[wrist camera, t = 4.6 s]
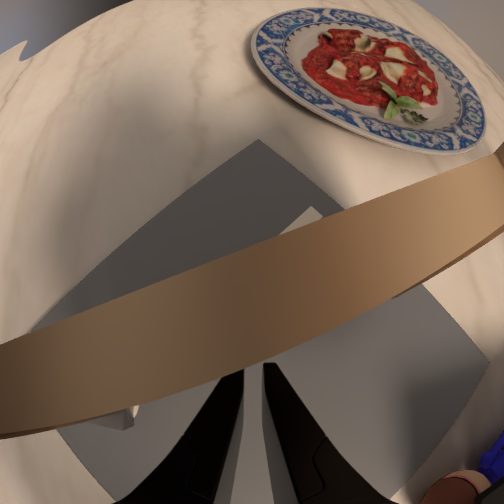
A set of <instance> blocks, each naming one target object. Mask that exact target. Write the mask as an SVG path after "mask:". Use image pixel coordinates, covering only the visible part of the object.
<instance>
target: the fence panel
mask: <svg viewBox="0 0 504 504" xmlns="http://www.w3.org/2000/svg"><path fill="white" fill-rule="evenodd" d="M502 232H504V142H503V143H502V144H501V146H500V147H499V148H498V149H497V150H496V151H495V153H494V154H493V155H490V156H487V157H485V158H482V159H479V160H477V161H474V162H471V163H469V164H466V165H463V166H460V167H458V168H455V169H452V170H450V171H447V172H444V173H442V174H439V175H436V176H434V177H431V178H428V179H426V180H423V181H420V182H418V183H415V184H412V185H410V186H407V187H404V188H402V189H399V190H396V191H394V192H391V193H388V194H386V195H383V196H381V197H378V198H375V199H373V200H370V201H367V202H365V203H362V204H359V205H357V206H354V207H351V208H349V209H346V210H344V211H341V212H338V213H336V214H333V215H330V216H328V217H325V218H323V219H320V220H317V221H315V222H312V223H310V224H307V225H304V226H302V227H299V228H296V229H294V230H291V231H289V232H286V233H283V234H281V235H278V236H276V237H273V238H270V239H268V240H265V241H263V242H260V243H257V244H255V245H252V246H250V247H247V248H245V249H242V250H239V251H237V252H234V253H232V254H229V255H226V256H224V257H221V258H219V259H216V260H214V261H211V262H208V263H206V264H203V265H201V266H198V267H196V268H193V269H190V270H188V271H185V272H183V273H180V274H178V275H175V276H172V277H170V278H167V279H165V280H162V281H160V282H157V283H155V284H152V285H149V286H147V287H144V288H142V289H139V290H137V291H134V292H132V293H129V294H127V295H124V296H121V297H119V298H116V299H114V300H111V301H109V302H106V303H104V304H101V305H99V306H96V307H94V308H91V309H89V310H86V311H84V312H81V313H78V314H76V315H73V316H71V317H68V318H66V319H63V320H61V321H58V322H56V323H53V324H51V325H48V326H46V327H43V328H41V329H38V330H36V331H33V332H31V333H28V334H26V335H23V336H21V337H18V338H16V339H13V340H11V341H8V342H6V343H4V344H1V345H0V440H1V439H7V438H13V437H19V436H24V435H30V434H35V433H40V432H45V431H49V430H54V429H58V428H62V427H67V426H71V425H75V424H79V423H83V422H86V421H90V420H94V419H97V418H101V417H104V416H106V415H107V414H108V413H112V412H115V411H119V410H123V409H126V408H130V407H134V406H137V405H141V404H144V403H147V402H151V401H154V400H157V399H160V398H164V397H167V396H170V395H173V394H176V393H179V392H182V391H185V390H188V389H191V388H194V387H197V386H199V385H202V384H205V383H208V382H211V381H213V380H216V379H219V378H221V377H224V376H227V375H229V374H232V373H234V372H237V371H239V370H242V369H244V368H247V367H249V366H252V365H254V364H257V363H259V362H262V361H264V360H266V359H269V358H271V357H273V356H276V355H278V354H280V353H283V352H285V351H287V350H289V349H291V348H294V347H296V346H298V345H300V344H302V343H305V342H307V341H309V340H311V339H313V338H315V337H317V336H319V335H322V334H324V333H326V332H328V331H330V330H332V329H334V328H336V327H338V326H340V325H342V324H344V323H346V322H348V321H350V320H351V319H353V318H355V317H357V316H359V315H361V314H363V313H365V312H367V311H369V310H370V309H372V308H374V307H376V306H378V305H380V304H381V303H383V302H385V301H387V300H388V299H390V298H396V297H398V296H400V295H402V294H404V293H405V292H407V291H409V290H411V289H413V288H414V287H416V286H418V285H420V284H422V283H423V282H425V281H427V280H429V279H430V278H432V277H434V276H435V275H437V274H439V273H440V272H442V271H444V270H445V269H447V268H449V267H450V266H452V265H454V264H455V263H457V262H458V261H460V260H462V259H463V258H465V257H466V256H468V255H469V254H471V253H473V252H474V251H476V250H477V249H479V248H480V247H482V246H483V245H485V244H486V243H488V242H489V241H491V240H492V239H494V238H495V237H496V236H498V235H499V234H501V233H502Z"/></svg>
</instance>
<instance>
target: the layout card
mask: <svg viewBox="0 0 504 504" xmlns="http://www.w3.org/2000/svg"><path fill="white" fill-rule="evenodd" d="M341 211H344V209H343V208H342V207H341V206H340V205H339V204H338V203H336V202H335V201H334V200H333V199H332V198H331V197H329V196H328V195H327V194H326V193H325V192H324V191H322V190H321V189H320V188H319V187H318V186H317V185H315V184H314V183H313V182H312V181H311V180H309V179H308V178H307V177H306V176H304V175H303V174H302V173H301V172H300V171H298V170H297V169H296V168H295V167H293V166H292V165H291V164H290V163H288V162H287V161H286V160H285V159H283V158H282V157H281V156H280V155H278V154H277V153H276V152H274V151H273V150H272V149H271V148H269V147H268V146H267V145H265V144H264V143H263V142H261V141H260V140H259V139H258V140H257V141H255V142H254V143H252V144H251V145H249V146H248V147H246V148H245V149H243V150H242V151H241V152H239V153H238V154H236V155H235V156H233V157H232V158H231V159H229V160H228V161H226V162H225V163H224V164H222V165H221V166H220V167H218V168H217V169H215V170H214V171H213V172H211V173H210V174H209V175H207V176H206V177H205V178H203V179H202V180H201V181H199V182H198V183H197V184H195V185H194V186H193V187H191V188H190V189H189V190H187V191H186V192H185V193H184V194H182V195H181V196H180V197H178V198H177V199H176V200H175V201H173V202H172V203H171V204H170V205H168V206H167V207H166V208H165V209H163V210H162V211H161V212H160V213H158V214H157V215H156V216H155V217H154V218H152V219H151V220H150V221H149V222H147V223H146V224H145V225H144V226H143V227H141V228H140V229H139V230H138V231H137V232H136V233H134V234H133V235H132V236H131V237H130V238H129V239H127V240H126V241H125V242H124V243H123V244H122V245H120V246H119V247H118V248H117V249H116V250H115V251H114V252H112V253H111V254H110V255H109V256H108V257H107V258H106V259H105V260H104V261H102V262H101V263H100V264H99V265H98V266H97V267H96V268H95V269H94V270H93V271H92V272H90V273H89V274H88V275H87V276H86V277H85V278H84V279H83V280H82V281H81V282H80V283H79V284H78V285H77V286H76V287H75V288H74V289H73V290H72V291H70V292H69V293H68V294H67V295H66V296H65V297H64V298H63V299H62V300H61V301H60V302H59V303H58V304H57V305H56V306H55V307H54V308H53V309H52V310H51V311H50V312H49V313H48V314H47V315H46V317H45V318H44V319H43V320H42V321H41V322H40V323H39V324H38V325H37V326H36V327H35V328H34V329H33V330H32V331H31V332H33V331H36V330H38V329H41V328H43V327H46V326H48V325H51V324H53V323H56V322H58V321H61V320H63V319H66V318H68V317H71V316H73V315H76V314H78V313H81V312H84V311H86V310H89V309H91V308H94V307H96V306H99V305H101V304H104V303H106V302H109V301H111V300H114V299H116V298H119V297H121V296H124V295H127V294H129V293H132V292H134V291H137V290H139V289H142V288H144V287H147V286H149V285H152V284H155V283H157V282H160V281H162V280H165V279H167V278H170V277H172V276H175V275H178V274H180V273H183V272H185V271H188V270H190V269H193V268H196V267H198V266H201V265H203V264H206V263H208V262H211V261H214V260H216V259H219V258H221V257H224V256H226V255H229V254H232V253H234V252H237V251H239V250H242V249H245V248H247V247H250V246H252V245H255V244H257V243H260V242H263V241H265V240H268V239H270V238H273V237H276V236H278V235H281V234H283V233H286V232H289V231H291V230H294V229H296V228H299V227H302V226H304V225H307V224H310V223H312V222H315V221H317V220H320V219H323V218H325V217H328V216H330V215H333V214H336V213H338V212H341ZM31 332H30V333H31ZM264 362H275V363H277V365H278V366H279V368H280V369H281V371H282V372H283V374H284V375H285V377H286V378H287V379H288V381H289V382H290V384H291V385H292V387H293V388H294V390H295V391H296V393H297V394H298V396H299V397H300V398H301V400H302V401H303V403H304V404H305V406H306V407H307V408H308V410H309V411H310V413H311V414H312V416H313V417H314V418H315V420H316V421H317V423H318V424H319V426H320V427H321V428H322V430H323V431H324V433H325V434H326V436H327V437H328V438H329V439H330V441H331V442H332V443H333V445H334V446H335V447H336V449H337V450H338V451H339V452H340V454H341V455H342V456H343V457H344V458H345V459H346V460H347V462H348V463H349V464H350V465H351V466H352V467H353V468H354V469H355V470H356V471H357V472H358V473H359V474H360V475H361V476H362V477H363V478H364V479H365V480H366V481H367V482H368V483H369V484H370V485H371V486H372V487H373V488H375V489H376V490H377V491H378V492H379V493H380V494H381V495H383V496H384V497H386V498H387V499H390V498H391V497H392V496H393V495H394V494H395V493H396V492H397V491H398V490H399V489H400V488H401V487H402V486H403V485H404V484H405V483H406V482H407V481H408V480H409V478H410V477H411V476H412V475H413V474H414V473H415V472H416V471H417V469H418V468H419V467H420V466H421V465H422V464H423V462H424V461H425V460H426V459H427V458H428V456H429V455H430V454H431V453H432V451H433V450H434V449H435V448H436V446H437V445H438V444H439V442H440V441H441V440H442V438H443V437H444V436H445V434H446V433H447V432H448V430H449V429H450V427H451V426H452V425H453V423H454V422H455V420H456V419H457V417H458V416H459V414H460V413H461V411H462V410H463V408H464V407H465V405H466V403H467V402H468V400H469V399H470V397H471V395H472V394H473V392H474V390H475V389H476V387H477V385H478V383H479V382H480V380H481V378H482V376H483V375H484V373H485V371H486V369H487V367H488V365H489V363H490V362H489V361H488V360H487V358H486V357H485V356H484V355H483V353H482V352H481V351H480V350H479V348H478V347H477V346H476V345H475V343H474V342H473V341H472V340H471V339H470V337H469V336H468V335H467V334H466V333H465V331H464V330H463V329H462V328H461V327H460V326H459V324H458V323H457V322H456V321H455V320H454V319H453V318H452V316H451V315H450V314H449V313H448V312H447V311H446V310H445V309H444V308H443V306H442V305H441V304H440V303H439V302H438V301H437V300H436V299H435V298H434V297H433V295H432V294H431V293H430V292H429V291H428V290H427V289H426V288H425V287H424V286H423V285H422V284H420V285H418V286H416V287H414V288H413V289H411V290H409V291H407V292H405V293H404V294H402V295H400V296H398V297H396V298H390V299H388V300H387V301H385V302H383V303H381V304H380V305H378V306H376V307H374V308H372V309H370V310H369V311H367V312H365V313H363V314H361V315H359V316H357V317H355V318H353V319H351V320H350V321H348V322H346V323H344V324H342V325H340V326H338V327H336V328H334V329H332V330H330V331H328V332H326V333H324V334H322V335H319V336H317V337H315V338H313V339H311V340H309V341H307V342H305V343H302V344H300V345H298V346H296V347H294V348H291V349H289V350H287V351H285V352H283V353H280V354H278V355H276V356H273V357H271V358H269V359H266V360H264V361H262V362H259V363H257V364H254V365H252V366H249V367H247V368H245V375H244V422H243V431H242V437H241V443H240V449H239V455H238V461H237V467H236V473H235V479H234V484H233V490H232V496H231V501H230V504H274V501H273V494H272V488H271V482H270V475H269V469H268V462H267V456H266V449H265V443H264V436H263V429H262V368H263V363H264ZM220 379H221V378H219V379H216V380H213V381H211V382H208V383H205V384H202V385H199V386H197V387H194V388H191V389H188V390H185V391H182V392H179V393H176V394H173V395H170V396H167V397H164V398H160V399H157V400H154V401H151V402H147V403H144V404H141V405H137V406H134V426H133V427H131V428H129V429H127V430H124V431H121V430H117V429H112V428H108V427H104V426H100V425H96V424H92V423H88V422H83V423H79V424H75V425H71V426H67V427H62V428H58V429H57V431H58V432H59V434H60V435H61V436H62V438H63V439H64V441H65V442H66V443H67V445H68V446H69V447H70V449H71V450H72V451H73V453H74V454H75V455H76V456H77V458H78V459H79V460H80V462H81V463H82V464H83V465H84V466H85V468H86V469H87V470H88V471H89V472H90V474H91V475H92V476H93V477H94V478H95V479H96V480H97V482H98V483H99V484H100V485H101V486H102V487H103V488H104V489H105V490H106V491H107V493H108V494H109V495H110V496H111V497H112V498H113V499H114V500H115V501H116V502H117V501H119V500H121V499H123V498H124V497H126V496H127V495H128V494H129V493H131V492H132V491H133V490H134V489H135V488H136V487H137V486H138V485H139V484H140V483H141V482H142V481H143V480H144V479H145V478H146V477H147V476H148V475H149V474H150V473H151V472H152V471H153V470H154V469H155V468H156V467H157V466H158V465H159V464H160V463H161V462H162V460H163V459H164V458H165V457H166V456H167V455H168V454H169V452H170V451H171V450H172V448H173V447H174V446H175V444H176V443H177V442H178V440H179V439H180V437H181V436H182V435H184V434H183V433H184V432H185V430H186V429H187V428H188V426H189V425H190V423H191V422H192V420H193V419H194V417H195V416H196V414H197V413H198V412H199V410H200V409H201V407H202V406H203V404H204V403H205V401H206V400H207V398H208V397H209V395H210V394H211V392H212V391H213V389H214V388H215V386H216V385H217V383H218V382H219V380H220Z"/></svg>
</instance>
